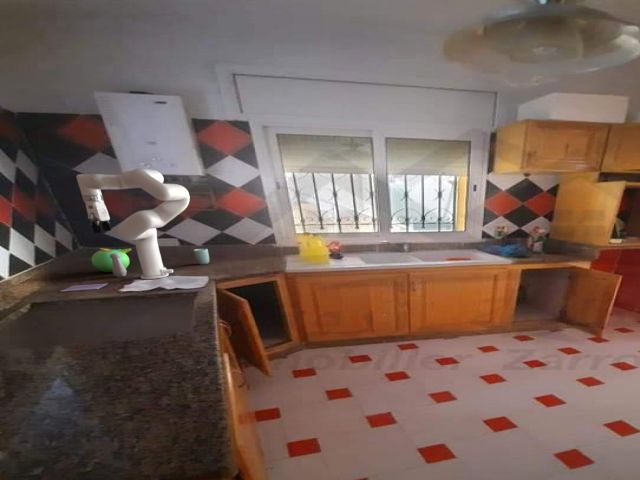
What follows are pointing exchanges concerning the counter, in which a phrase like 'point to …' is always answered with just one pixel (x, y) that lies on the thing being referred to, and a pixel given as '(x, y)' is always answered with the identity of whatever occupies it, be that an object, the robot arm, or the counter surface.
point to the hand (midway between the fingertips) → (103, 231)
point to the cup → (201, 256)
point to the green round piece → (109, 259)
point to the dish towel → (84, 287)
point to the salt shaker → (117, 265)
